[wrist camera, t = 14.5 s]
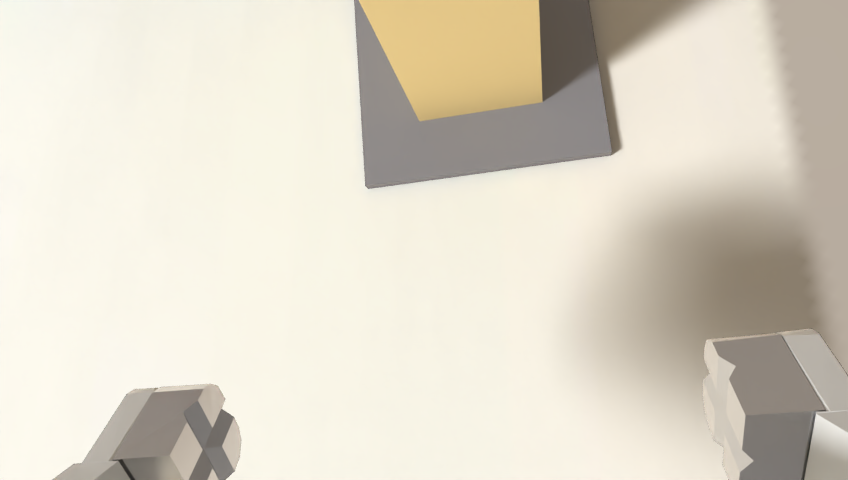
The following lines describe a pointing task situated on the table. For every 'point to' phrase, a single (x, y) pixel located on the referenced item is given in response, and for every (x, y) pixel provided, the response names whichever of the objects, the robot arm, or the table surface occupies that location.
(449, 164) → the pad
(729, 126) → the table surface
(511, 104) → the plug
